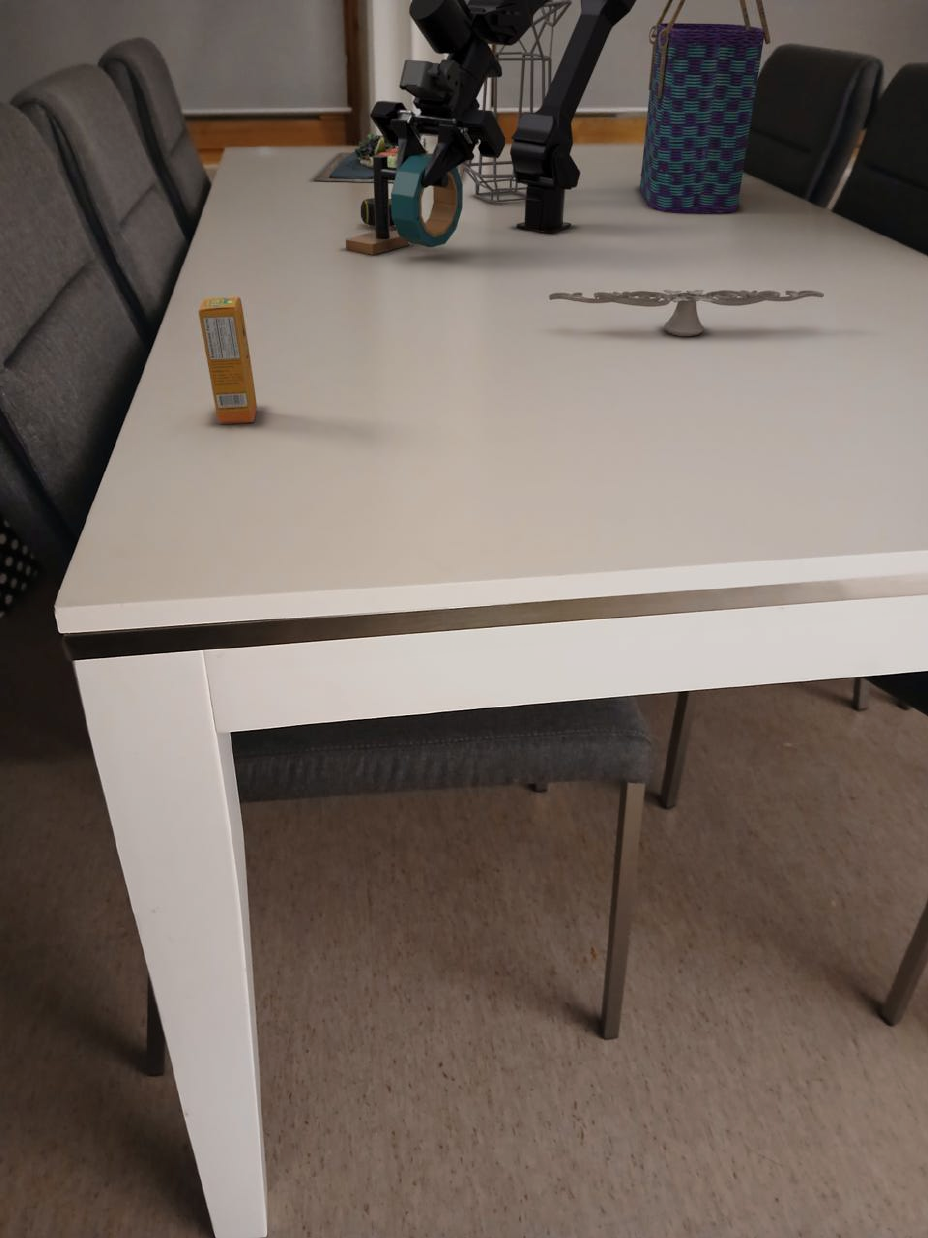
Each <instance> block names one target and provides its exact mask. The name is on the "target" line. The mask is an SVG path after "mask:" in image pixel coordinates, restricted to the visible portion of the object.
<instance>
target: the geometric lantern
mask: <svg viewBox="0 0 928 1238" xmlns="http://www.w3.org/2000/svg"><path fill="white" fill-rule="evenodd" d="M464 1H465V3H466V4H468V2H469V1H470V0H464ZM572 3H573V1H572V0H556V1H554V0H550V1H549V2H547V3H546V4H545V5H544V6H542V7H541V8H540V10H541V14H542V15H541V16H540V17H538V18H537V19H536V20H533V21H532V25H531V27H530V28H531V29H532V32H533V35H534V38H535V41H534V43H533V45H532V47H531V50H530V51H529V52H528V51H527V49H526V48H525V46H524V44H523V43H522V40H521V39H520V40H519V41H518V43H519V44H520V46H521V48H522V49H523V51H524V52H523V51H504V49H505V48H506V45H502V46H501V48H500V50H499V51H498V52H497V51H496V52H493V53H494V54H498V56H499V62H503V61H521V69H520V70H521V71H520V85H519V100H518V101H519V102H518V114H517V117H518V118H517V125H518V124H519V121H520V118H521V116H522V115H523V114H522V113H523V98H524V97H523V96H524V83H525V82H524V81H525V69H526V66H525V65H526V61H530V67H529V69H530V70H529V72H530V73H529V79H530V80H529V113H534V61H541V105H542V104H543V102H544V99H545V97H546V62H548V63H547V91H548V90H549V88H550V85H551V83H552V70H553V69H552V68H553V67H552V66H553V65H552V63H553V62H552V59H553V58H552V51H553V39H554V27H556V25H557V24H558V22H559V21H560V20H561V19H562V17H563V16H564V14H565V13H566V12H567V10H568V9H569V8H570V6H571V5H572ZM545 8H548V11H547V12H546V10H545ZM560 9H562V10H561V11H560V12H559V13H558V14H557V11H558V10H560ZM552 14H553V18H552V21H550V20H551V19H550V18H551V15H552ZM542 21H543V23H542V26H541V27H540V30H539V32H537V29H536V26H537V24H539V23H541V22H542ZM546 26H549V27H551V28H550V29H551V30H550V44H549V54H548V55H544V52H543V49H542V45H541V42H540V39H541V37H542V35H543V32H544V30H545V28H546ZM536 48H537V49H538V53H539V54H538V53H535V49H536ZM509 55H510V56H511V55H512V56H513V55H515V56H516V55H521V57H500V56H509ZM488 79H489V78H486V80H485V82H484V84H483V92H482V93H483V94H482V95H483V96H482V108H481V110H486V107H487V94H488V91H487V90H488ZM497 110H498V77H495V78H493V115H494V117H495V119H496V121H497V122H498V116H497V115H498V111H497ZM480 142H481V141H480V140H479V143H480ZM478 154H479V155H478V162H472V161H473V160H468V163H467V161H465V162H464V163H463V165H462V167H463V169H464V170H463V171H464V172H466V173H467V175H468V176H469V178H470V179H471V180H472V181H473V182H474V187H475V188H474V189H475V191H474V192H475V194H474V197H476V198H477V199H481V200H483V201H485V202H488V203H493V204H494V203H505V202H506V203H508V202H520V201H525V200H526V192H525V193H524V192H522V191H523V190H525V191H526V187H527V184H524V183H521V184H522V185H525V186H524V187H523V186H522V187H519V186H518V185H519V183H516V180H515V175H514V170H513V169H512V173H511V174H497V166H502V165H512V160H499V161H497V158H492V161H483V157H482V156H481V154H480V153H478ZM484 166H485V167H486V166H492V174H482V171H483V167H484ZM472 167H478V171H475V169H472ZM485 179H487V180H485ZM488 179H489V180H488ZM498 182H509V187H501V188H500V187H499V188H498ZM513 182H514V183H515V186H514V187H513ZM488 183H494V188H492V187H491V186H490V185H489V184H488ZM480 187H483V188H484V189H486V190H488V191H487V192H480ZM509 193H510V194H518V195H521V196H525V197H520V198H519V197H518V198H517V197H516V198H506V199H505V198H504V199H500V194H509ZM487 195H488V196H489V195H490V198H488V197H487V198H486V197H484V196H487ZM494 195H496V199H494Z"/></svg>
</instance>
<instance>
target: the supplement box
mask: <svg viewBox="0 0 928 1238" xmlns="http://www.w3.org/2000/svg"><path fill="white" fill-rule="evenodd" d="M201 302H202V303H201V305H200V307H199V309H198V312H197V313H198V318H199V324H200V329H201V333H202V334H201V335H202V339H203V345H204V352H205V357H206V364H207V368H208V374H209V379H210V386H211V392H212V396H213V402H214V408H215V414H216V421H217V424H221V425H222V424H223V425H224V424H228V425H229V424H244V423H245V424H246V423H253V422H255V418H256V414H257V410H258V403H257V397H256V388H255V382H254V375H253V368H252V367H253V366H252V361H251V354H250V346H249V342H248V341H249V340H248V335H247V327H246V321H245V315H244V308H243V304H242V303H243V302H242V299H241V297H240V296H230V297H229V296H226V297H224V296H223V297H212V298H204V299H203V300H202V301H201Z"/></svg>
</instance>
